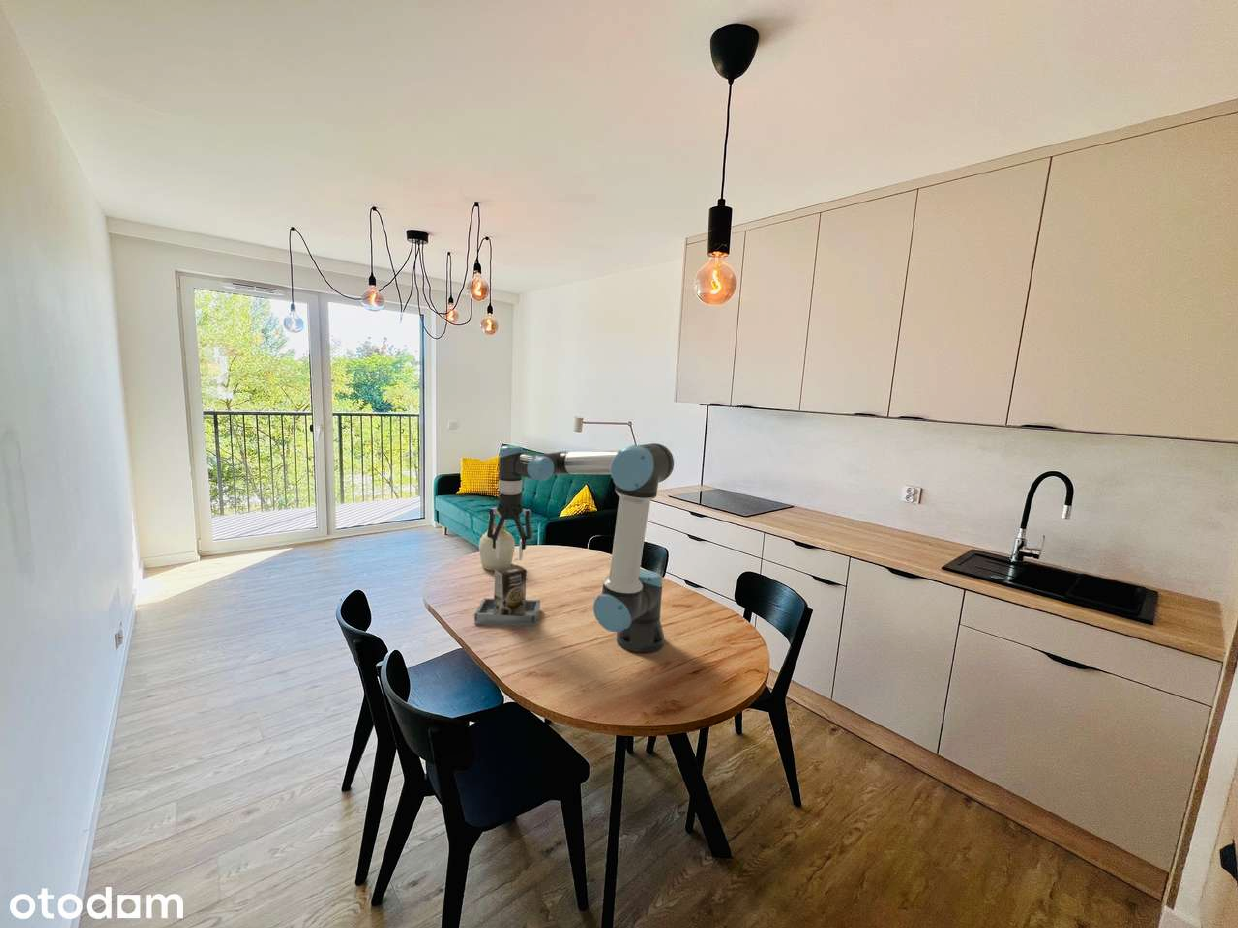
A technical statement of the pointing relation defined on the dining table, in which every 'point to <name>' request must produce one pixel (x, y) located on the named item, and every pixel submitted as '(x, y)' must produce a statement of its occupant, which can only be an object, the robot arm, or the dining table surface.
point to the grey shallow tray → (489, 617)
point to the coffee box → (510, 590)
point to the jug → (490, 554)
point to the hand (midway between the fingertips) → (509, 558)
